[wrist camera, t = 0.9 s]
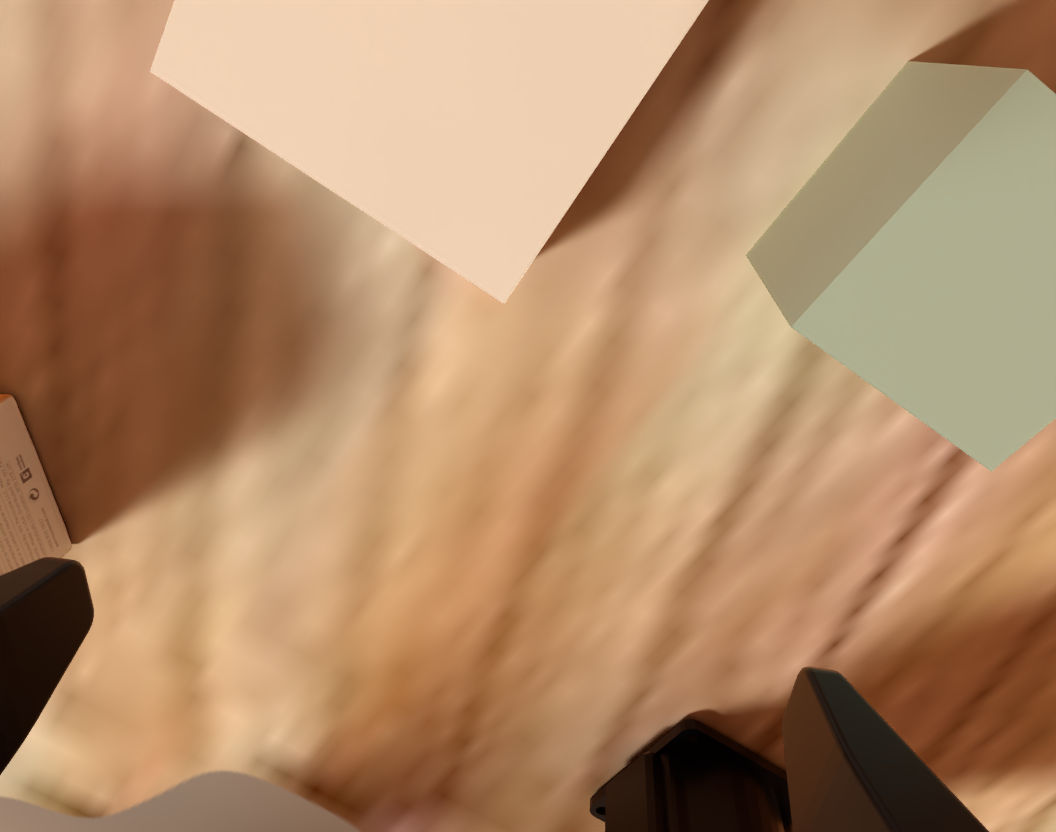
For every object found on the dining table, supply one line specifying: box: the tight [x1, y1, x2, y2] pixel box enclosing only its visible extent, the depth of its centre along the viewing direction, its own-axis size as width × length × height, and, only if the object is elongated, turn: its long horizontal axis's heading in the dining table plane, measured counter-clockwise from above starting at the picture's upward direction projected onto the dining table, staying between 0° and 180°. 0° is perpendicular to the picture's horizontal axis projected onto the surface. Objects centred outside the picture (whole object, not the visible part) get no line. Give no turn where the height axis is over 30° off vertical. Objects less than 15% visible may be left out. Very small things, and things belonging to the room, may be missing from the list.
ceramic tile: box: [150, 0, 709, 304], centre depth 16 cm, size 9×9×4 cm
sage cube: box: [746, 61, 1056, 471], centre depth 16 cm, size 6×6×6 cm
